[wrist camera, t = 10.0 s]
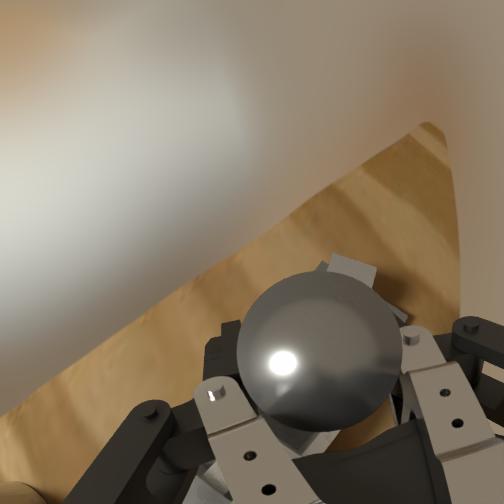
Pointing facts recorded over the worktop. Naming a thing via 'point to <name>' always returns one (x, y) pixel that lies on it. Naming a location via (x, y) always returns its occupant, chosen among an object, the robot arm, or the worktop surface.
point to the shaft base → (292, 440)
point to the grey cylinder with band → (319, 351)
